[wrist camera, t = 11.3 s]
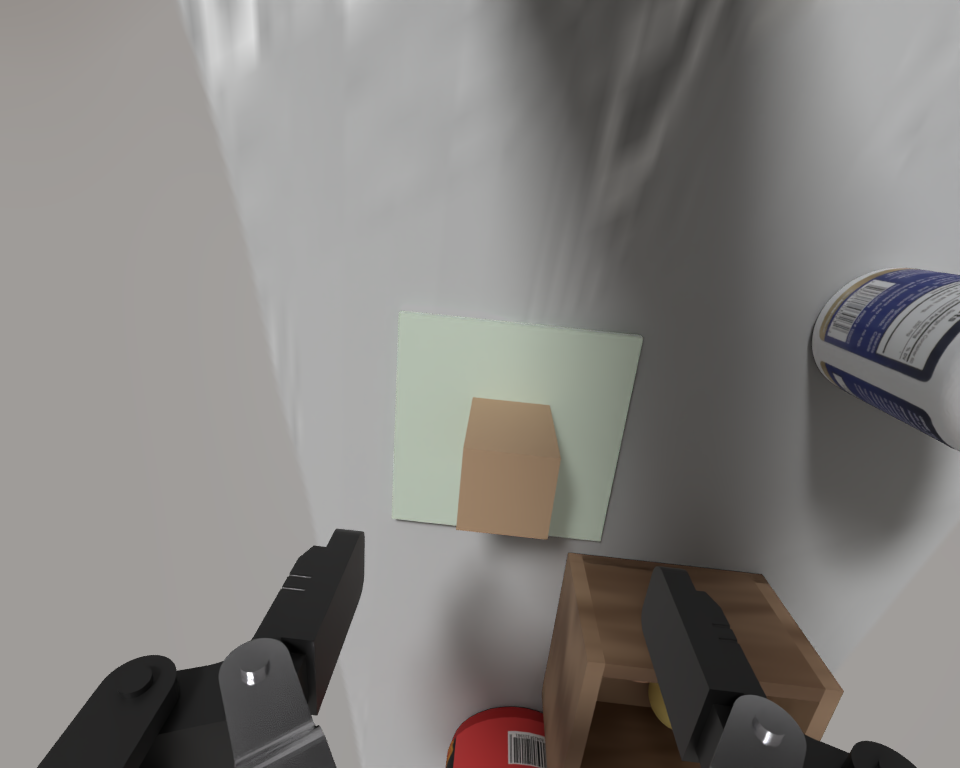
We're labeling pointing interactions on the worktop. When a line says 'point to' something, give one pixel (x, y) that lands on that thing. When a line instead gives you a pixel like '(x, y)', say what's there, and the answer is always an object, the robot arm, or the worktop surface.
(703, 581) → the box
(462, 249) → the worktop surface
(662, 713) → the ball mustard
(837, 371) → the pill bottle
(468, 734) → the canned food
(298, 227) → the worktop surface
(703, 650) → the robot arm
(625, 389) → the lid
